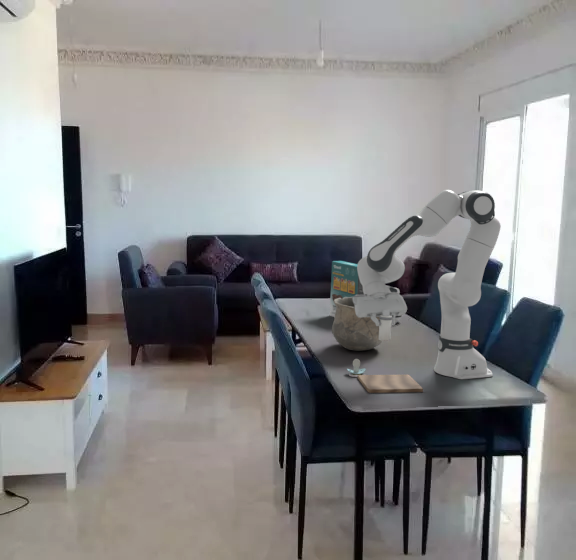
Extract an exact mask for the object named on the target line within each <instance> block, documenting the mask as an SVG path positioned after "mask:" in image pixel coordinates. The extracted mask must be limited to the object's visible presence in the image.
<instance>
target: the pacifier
mask: <svg viewBox="0 0 576 560" xmlns="http://www.w3.org/2000/svg"><path fill="white" fill-rule="evenodd" d="M352 366H353V369H349V368H346V370H347V371H348V372H349V374H348V376H349V377H353V378H358V375H366V374H365V372H366V368H365V367H364V368H360V367H361V361H360V359H358V358H355V359H353V361H352Z"/></svg>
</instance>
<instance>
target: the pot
mask: <svg viewBox="0 0 576 560" xmlns="http://www.w3.org/2000/svg"><path fill="white" fill-rule="evenodd" d="M352 298H353V297H344V298H342V299H341V298H337V299H335V300H334V304H335V305H336V312H335V317H333V322H332V327H331V333H332V336H333V337H334V339H335V340H336V342H337V343H338V344H339V345H341V346H342V347H343V348H345V349H346V350H350V351H355V352H364V351H369V350H372V349H375V348H376V347H378V346H379V345H381V344H382V342H383V341H381V340H379V326H376V324H375V322H374V321H373V320H372V319H371V317H358V316H357V315H356V312H355V304H354V303H353V300H352ZM376 318H377V319H378V320H380V319H379V318H380V317H376Z"/></svg>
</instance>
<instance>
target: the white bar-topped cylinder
mask: <svg viewBox="0 0 576 560" xmlns="http://www.w3.org/2000/svg"><path fill="white" fill-rule="evenodd" d="M389 314H390V310H383V314H382V315H380V318H379V319H380V321H381V326H379V340H381V341H382V342H390V341H391V339H392V338H391V337H392V335H391V333H392V326H391V322H392V316H391V315H389Z"/></svg>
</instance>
